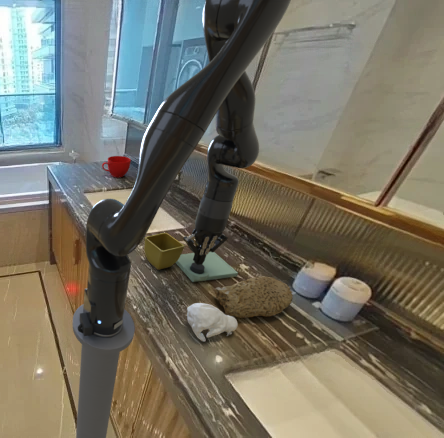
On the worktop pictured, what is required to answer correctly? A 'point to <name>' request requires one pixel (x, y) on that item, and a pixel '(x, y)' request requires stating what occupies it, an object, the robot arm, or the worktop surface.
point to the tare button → (197, 268)
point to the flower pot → (162, 250)
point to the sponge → (255, 297)
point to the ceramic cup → (117, 165)
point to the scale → (206, 267)
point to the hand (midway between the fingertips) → (198, 262)
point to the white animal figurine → (209, 320)
